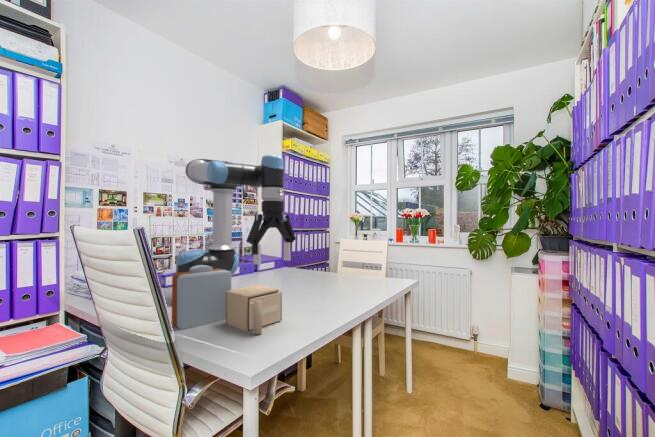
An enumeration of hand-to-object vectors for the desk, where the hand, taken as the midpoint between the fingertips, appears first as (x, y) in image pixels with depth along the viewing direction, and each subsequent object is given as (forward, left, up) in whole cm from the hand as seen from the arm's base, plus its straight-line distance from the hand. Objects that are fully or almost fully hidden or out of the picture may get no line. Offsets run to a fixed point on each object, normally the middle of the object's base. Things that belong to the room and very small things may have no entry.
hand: (272, 262), depth 108 cm
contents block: (-9, -2, -22) cm, 24 cm away
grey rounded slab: (-24, -13, -23) cm, 35 cm away
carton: (-9, -2, -23) cm, 24 cm away
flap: (0, -2, -22) cm, 22 cm away
